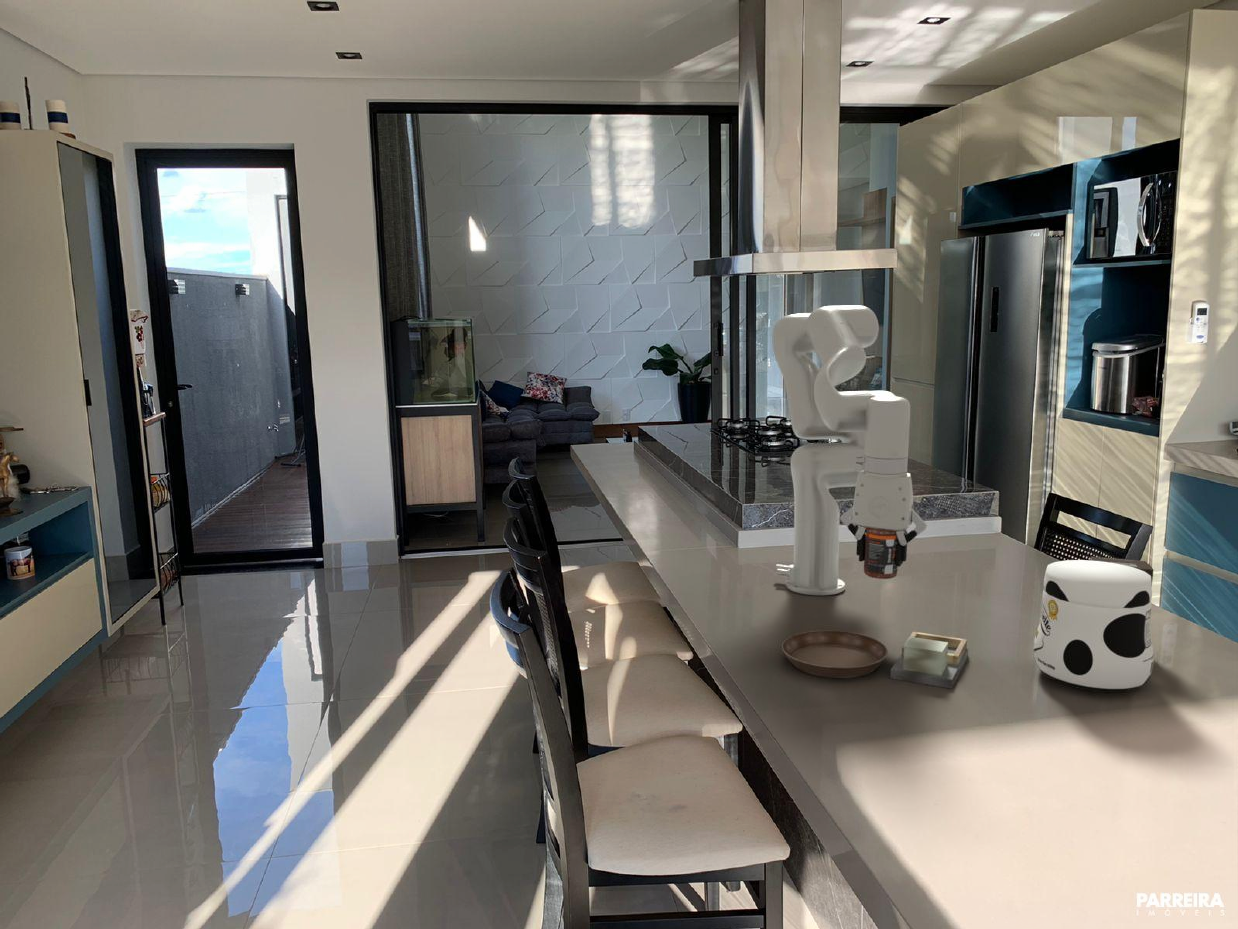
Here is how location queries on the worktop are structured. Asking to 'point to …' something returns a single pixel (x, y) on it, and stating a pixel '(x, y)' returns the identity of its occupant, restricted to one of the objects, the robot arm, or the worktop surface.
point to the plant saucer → (834, 653)
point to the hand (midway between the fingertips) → (881, 561)
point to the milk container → (1095, 626)
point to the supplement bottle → (880, 553)
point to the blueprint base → (929, 677)
